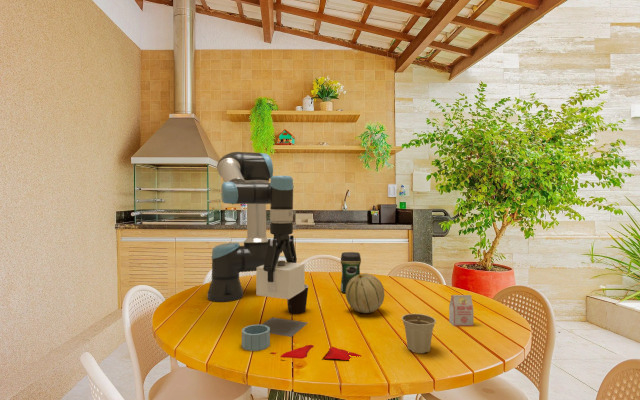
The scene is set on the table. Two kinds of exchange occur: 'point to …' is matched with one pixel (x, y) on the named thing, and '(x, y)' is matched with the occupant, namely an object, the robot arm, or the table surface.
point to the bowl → (255, 337)
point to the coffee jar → (349, 267)
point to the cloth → (331, 354)
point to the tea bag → (461, 310)
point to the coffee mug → (298, 302)
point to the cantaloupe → (365, 293)
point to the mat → (284, 326)
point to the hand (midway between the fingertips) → (281, 287)
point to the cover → (282, 280)
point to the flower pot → (418, 332)
